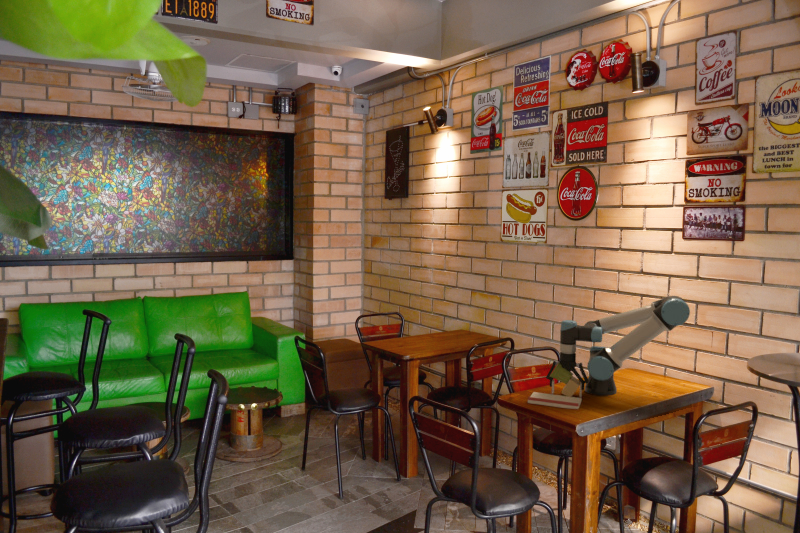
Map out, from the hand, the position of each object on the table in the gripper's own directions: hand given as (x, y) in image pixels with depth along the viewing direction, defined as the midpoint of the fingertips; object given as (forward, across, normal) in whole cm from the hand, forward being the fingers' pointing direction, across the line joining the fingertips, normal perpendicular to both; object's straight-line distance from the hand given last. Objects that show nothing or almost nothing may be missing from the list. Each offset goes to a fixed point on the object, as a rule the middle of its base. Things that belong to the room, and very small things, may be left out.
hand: (566, 394), depth 292 cm
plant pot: (-8, -2, 0) cm, 8 cm away
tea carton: (-1, 0, 0) cm, 1 cm away
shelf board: (+1, +4, +12) cm, 13 cm away
